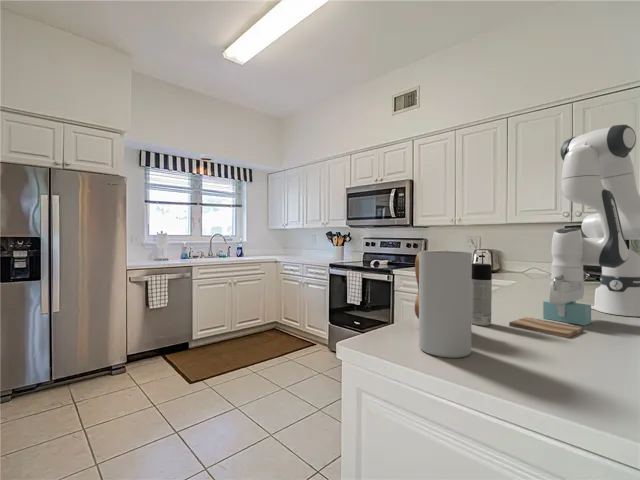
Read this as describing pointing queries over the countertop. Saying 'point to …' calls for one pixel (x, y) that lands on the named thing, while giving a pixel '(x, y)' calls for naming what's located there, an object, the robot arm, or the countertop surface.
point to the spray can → (481, 294)
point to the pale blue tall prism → (568, 313)
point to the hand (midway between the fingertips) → (566, 314)
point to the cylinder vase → (445, 303)
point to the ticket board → (547, 327)
